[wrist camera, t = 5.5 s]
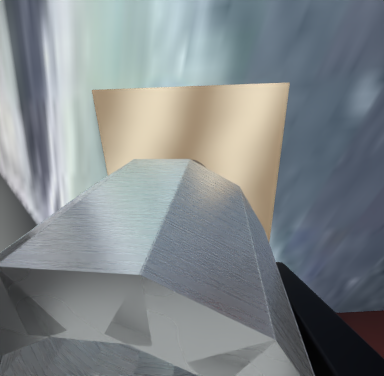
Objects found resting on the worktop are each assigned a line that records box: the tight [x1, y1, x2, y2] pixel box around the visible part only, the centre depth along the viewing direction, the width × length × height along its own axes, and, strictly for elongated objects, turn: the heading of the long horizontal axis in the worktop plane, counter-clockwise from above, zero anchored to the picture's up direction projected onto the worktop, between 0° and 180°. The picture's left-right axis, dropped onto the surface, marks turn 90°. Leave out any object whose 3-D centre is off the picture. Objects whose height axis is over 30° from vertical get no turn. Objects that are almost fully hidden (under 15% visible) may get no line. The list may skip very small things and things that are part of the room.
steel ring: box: [0, 159, 315, 376], centre depth 6 cm, size 7×7×5 cm
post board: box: [92, 83, 290, 241], centre depth 14 cm, size 12×12×6 cm
